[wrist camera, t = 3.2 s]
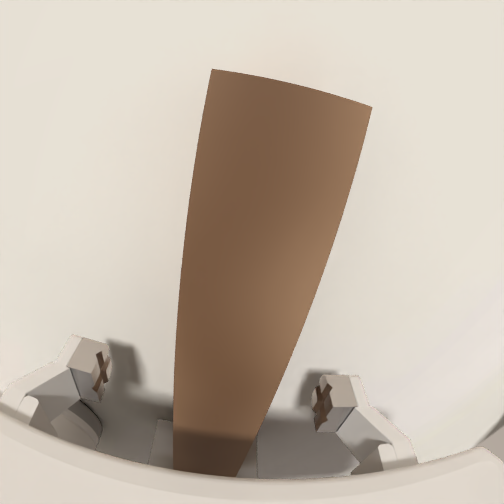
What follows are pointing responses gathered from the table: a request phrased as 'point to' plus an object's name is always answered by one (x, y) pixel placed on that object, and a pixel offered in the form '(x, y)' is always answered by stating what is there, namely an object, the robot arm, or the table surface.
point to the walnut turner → (252, 259)
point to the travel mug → (78, 426)
